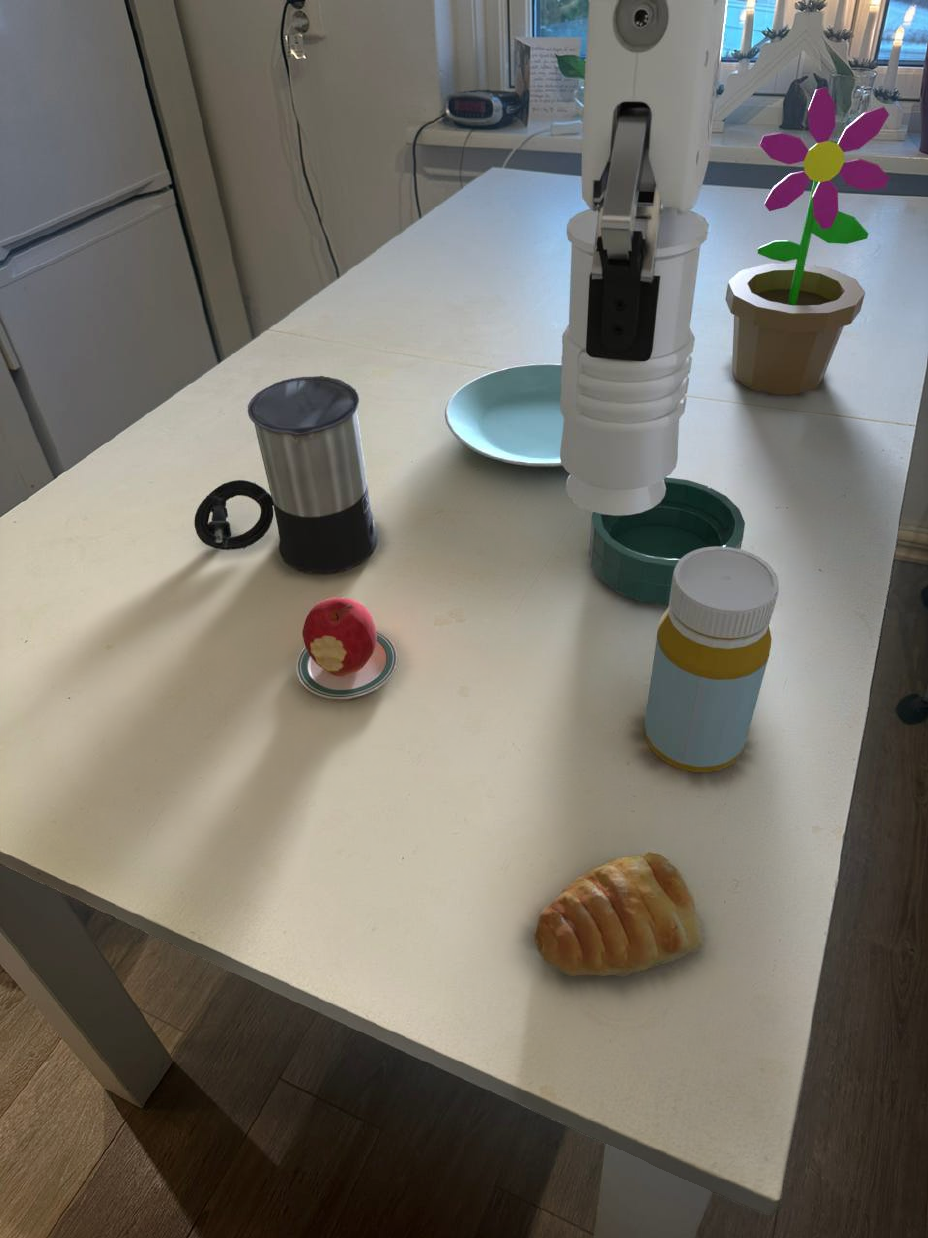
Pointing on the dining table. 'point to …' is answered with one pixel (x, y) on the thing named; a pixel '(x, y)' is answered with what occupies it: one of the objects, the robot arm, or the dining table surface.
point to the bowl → (661, 539)
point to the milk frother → (303, 479)
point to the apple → (343, 651)
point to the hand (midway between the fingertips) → (629, 324)
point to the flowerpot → (803, 261)
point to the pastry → (620, 919)
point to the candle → (628, 378)
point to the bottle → (710, 658)
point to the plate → (511, 415)
